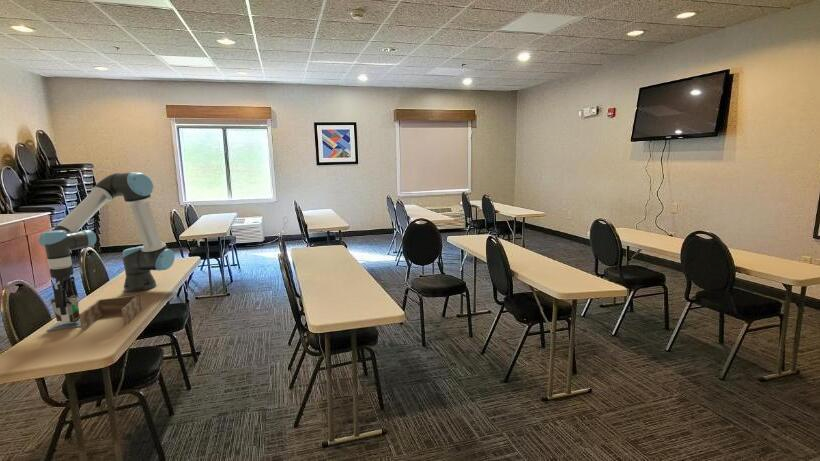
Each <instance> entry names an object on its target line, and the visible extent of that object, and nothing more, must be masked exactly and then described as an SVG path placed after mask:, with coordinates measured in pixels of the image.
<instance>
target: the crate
mask: <svg viewBox="0 0 820 461" xmlns="http://www.w3.org/2000/svg"><path fill="white" fill-rule="evenodd" d="M140 297H141V295H139V294H135V295H128V296H119V297H118V296H117V297H112V298H110V297H109V298H102V299H97V300H96V301H95V302H93V303H92V304H91V305H90V306H89V307H86V309H85V310H83V311H82V312H81V313H79V317H80V319H79V320H80V322H81V327H80V328H81V331H86V330H87V329H89V328H90V327H91V326H92V325H93V324H94V323H95V322H96V321H97V320H99V319H98V318H100V317H101V318H102V316H103V314H104V315H110V314H119V313H122V315H121V316H122V321H123V326H124V325H128V324H130V322H131V321H132V320H133V319H134V318H135V317H136V316H137V315H138V313H139V312H140V311H141V310H142V305H141V298H140Z"/></svg>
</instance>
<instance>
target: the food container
mask: <svg viewBox="0 0 820 461" xmlns="http://www.w3.org/2000/svg"><path fill="white" fill-rule="evenodd" d="M49 302H50V304H51V307H52V310H53V313H54V316H55V319H56V322H62V319H61V314H60V309H59V308H56V305H55V298H51V299H50V301H49ZM80 302H81V299H80V298H79V296H78V297H77V296H75V295H72V296H71V297H67V295H66V306H68V310H69V315H70V320H71V321H69V322H72V323H74V322H76V321H78V320H80V317H79V314H80V308H79V303H80Z"/></svg>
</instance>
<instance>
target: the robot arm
mask: <svg viewBox="0 0 820 461" xmlns="http://www.w3.org/2000/svg"><path fill="white" fill-rule="evenodd" d="M153 189H154V184H153V181H152V180H151V178H150V177H149V176H148V175H146V174H145V173H142V172H135V171H134V172H121V173H120V172H118V173H117V172H116V173H112V174H109V175H106V176H105V177H104V178H102V179H101V180H100V181H99V182H97V183H96V184H95V185H94V186H92V188H91V189H90V191H91V192H90V193H89V194H88V195H87V196H86V197H85V198H84V199H82V201H81V202H79V204H77V206H75V207H74V209H72V210H71V211H70V212H69V213H68V214H67V215H66V216H65V217H64V218H63V219H62V220H61V221H60V222H59V223H58V224H57V225H55V227H53V229H51V230H48V231H44V232H42V233H40V235H39V237H38V243H39V244H40V245H41V246H42V247H43V248H45V253H46V258H47V261H46V263H48V268H49V274H50V277H51V278H52V279H55V284H52V289H53V297H54V298H55V305H56V308H59V309H60V314H61V319H62V322H69V321H71V320H70V315H69V310H68V306H66V296H67V297H71V296H72V295H75V296H77V297H78V298H79V295H78V289H77V286H76V281H75V276H74V275H73V274H75V273H74V267H73V266H72V265H73V261H72V256H71V251H75V250H79V249H85V248H89V247H91V246H93V245H95V244H96V243H97V235H96V233H95V232H94V231H92V230H90V229H84V230H80V229H81V228H83V227H84V225H85V224H86V223H88V221H89V220H90V219H91V218H92V217H93V216H94V215H96V213H98V211H99V210H100V209H101V208H102V207H103V206H105V204H106V203H109V202H111V201H112V200H113V199H115V198H116V197H117V198H118V197H123V199H124V202H125V203H127V204H128V205H129V206H130V210H131V212H132V216H133V218H134V222H135V224H136V227H137V231H138V234H139V236H140V239H141V243H142V245H139V246H136V247H135V246H134V247H129V248H126V249H124V250H123V251H122V261H123V266H124V267H123V268H124V272H125V278H124V279H125V280H124V282H123V283H124V284H123V291H125V292H127V293H128V292H129V293H130V292H131V293H132V292H133V293H134V292H141V291H147V290H151V289H153V288H155V287H156V286H157V281H156V279H155V277H154V276H153V274H152V272H151V271H157V272H158V271H159V272H160V271H166V270H168V269H170V268H171V267H172V266H173V265H174V262H175V259H176V258H175V256H176V255H175V253H174V251H173V250H172V249H170V248H168V246H167V244H166V242H163V241H162V238H161V234H160V233H159V228H158V225H157V223H156V219H155V217H154V213H153V210H152V206H151V203H150V201H149V200H150V199H151V194H152V193H153Z"/></svg>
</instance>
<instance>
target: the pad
mask: <svg viewBox="0 0 820 461" xmlns="http://www.w3.org/2000/svg"><path fill="white" fill-rule="evenodd" d="M76 328H81V322H80V319H79V320H78V321H76V322H74V323H72V322H59V321H57V322H56V323H54V324H53V325H52V326H51V327H49V328H48V329H46V330H45V331H46V332H52V331H59V330H60V331H61V330H68V329H76Z"/></svg>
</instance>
